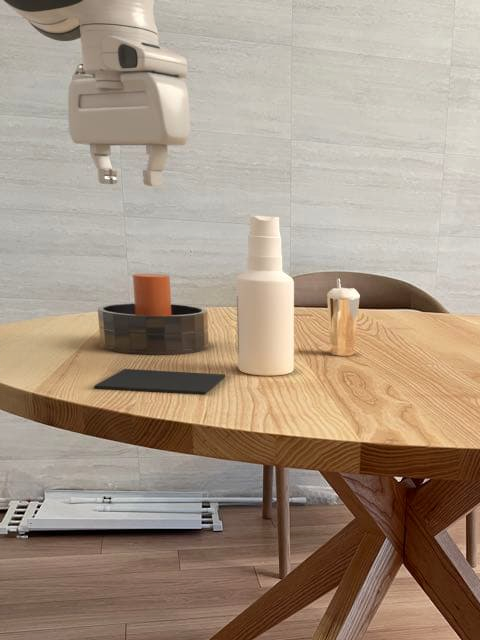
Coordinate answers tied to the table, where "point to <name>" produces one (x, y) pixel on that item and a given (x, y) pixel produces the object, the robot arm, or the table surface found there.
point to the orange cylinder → (152, 294)
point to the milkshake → (342, 319)
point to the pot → (153, 330)
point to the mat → (161, 381)
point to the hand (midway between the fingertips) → (130, 185)
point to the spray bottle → (265, 304)
